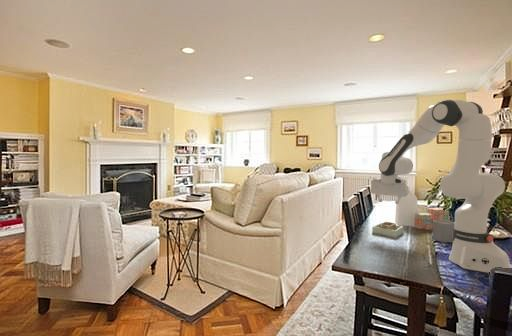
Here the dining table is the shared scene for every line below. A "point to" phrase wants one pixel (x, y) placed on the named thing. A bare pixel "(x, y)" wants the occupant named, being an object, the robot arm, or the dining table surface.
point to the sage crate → (387, 231)
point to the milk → (406, 210)
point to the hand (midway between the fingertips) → (388, 202)
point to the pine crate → (388, 225)
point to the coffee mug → (443, 230)
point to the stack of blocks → (430, 218)
